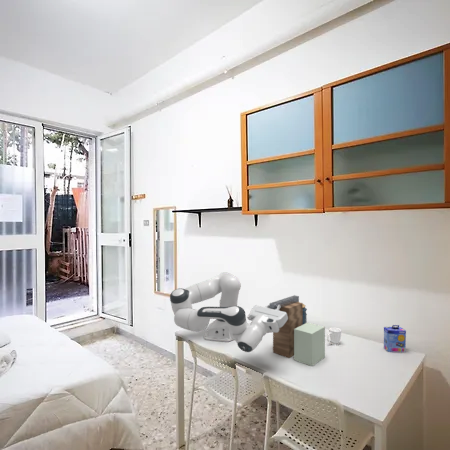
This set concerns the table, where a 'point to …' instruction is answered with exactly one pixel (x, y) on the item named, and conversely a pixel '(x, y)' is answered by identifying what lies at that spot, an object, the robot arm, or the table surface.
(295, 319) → the walnut stand
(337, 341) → the cup
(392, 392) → the table surface
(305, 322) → the canister
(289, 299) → the metal bar
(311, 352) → the sage block
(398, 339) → the ink cartridge box
